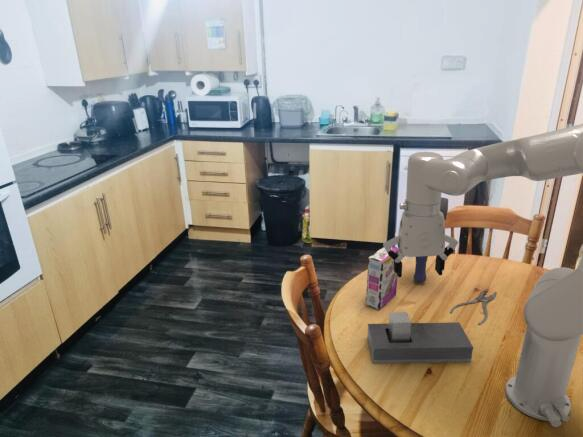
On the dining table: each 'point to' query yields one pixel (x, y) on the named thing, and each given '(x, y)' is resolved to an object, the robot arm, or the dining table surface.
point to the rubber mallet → (421, 261)
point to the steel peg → (399, 327)
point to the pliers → (479, 299)
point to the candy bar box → (381, 279)
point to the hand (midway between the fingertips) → (418, 273)
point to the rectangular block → (421, 344)
